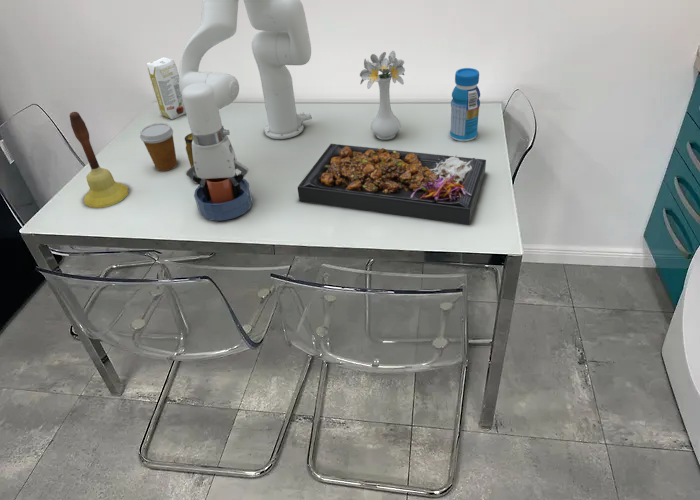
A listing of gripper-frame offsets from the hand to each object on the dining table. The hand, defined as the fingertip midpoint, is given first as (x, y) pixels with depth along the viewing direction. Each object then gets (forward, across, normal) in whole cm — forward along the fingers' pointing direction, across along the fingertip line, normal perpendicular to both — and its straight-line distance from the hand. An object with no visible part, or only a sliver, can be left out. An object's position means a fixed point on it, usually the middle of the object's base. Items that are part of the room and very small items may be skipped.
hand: (223, 196), depth 148 cm
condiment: (+4, +10, -18) cm, 21 cm away
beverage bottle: (+3, -67, -34) cm, 75 cm away
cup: (+3, 0, 0) cm, 3 cm away
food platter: (+4, -45, -6) cm, 45 cm away
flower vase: (+3, -43, -37) cm, 57 cm away
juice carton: (+3, +31, -61) cm, 69 cm away
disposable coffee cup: (+4, +23, -24) cm, 34 cm away
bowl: (+3, 0, 0) cm, 3 cm away
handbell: (+4, +36, -9) cm, 37 cm away
